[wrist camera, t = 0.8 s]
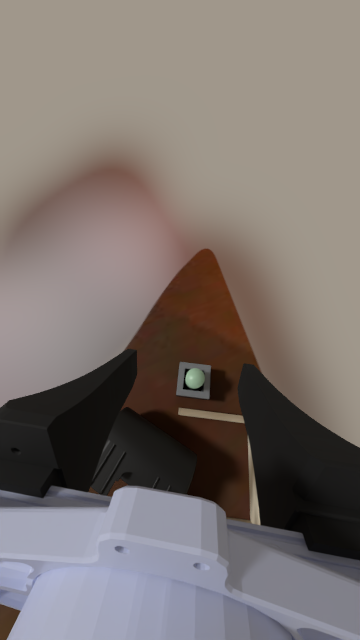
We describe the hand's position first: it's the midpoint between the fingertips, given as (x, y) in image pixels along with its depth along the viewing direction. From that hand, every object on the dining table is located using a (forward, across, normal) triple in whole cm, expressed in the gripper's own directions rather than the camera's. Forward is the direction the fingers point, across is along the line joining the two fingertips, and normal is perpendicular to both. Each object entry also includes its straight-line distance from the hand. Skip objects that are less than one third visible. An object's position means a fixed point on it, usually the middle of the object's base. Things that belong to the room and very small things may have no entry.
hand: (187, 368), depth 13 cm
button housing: (+12, -1, +11) cm, 17 cm away
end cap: (+5, +4, +18) cm, 19 cm away
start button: (+11, -1, +10) cm, 15 cm away
